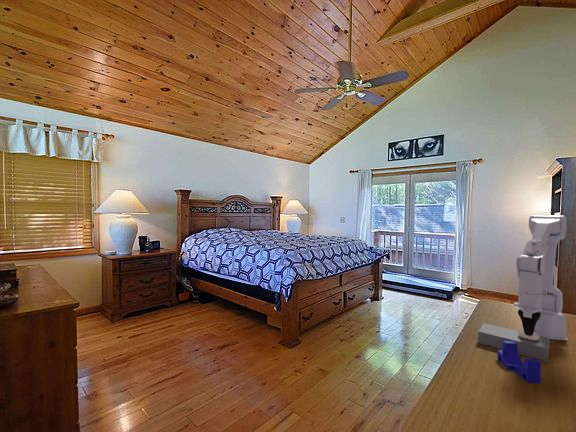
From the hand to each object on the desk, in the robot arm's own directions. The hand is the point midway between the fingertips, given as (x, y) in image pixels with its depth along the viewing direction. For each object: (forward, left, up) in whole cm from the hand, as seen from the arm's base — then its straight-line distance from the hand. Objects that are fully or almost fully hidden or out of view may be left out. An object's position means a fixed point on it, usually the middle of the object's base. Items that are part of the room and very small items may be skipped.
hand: (528, 333), depth 95 cm
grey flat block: (+3, -2, -6) cm, 7 cm away
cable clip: (+11, +14, -6) cm, 18 cm away
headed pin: (0, 0, -5) cm, 5 cm away
